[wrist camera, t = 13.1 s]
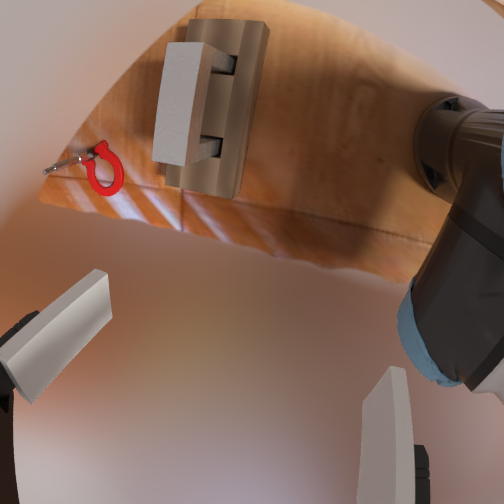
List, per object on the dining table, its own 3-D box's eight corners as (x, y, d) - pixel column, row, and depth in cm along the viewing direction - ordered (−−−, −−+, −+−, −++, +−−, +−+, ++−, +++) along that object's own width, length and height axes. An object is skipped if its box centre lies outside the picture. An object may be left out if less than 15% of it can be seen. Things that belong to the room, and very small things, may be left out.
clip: (241, 62, 34) (203, 42, 23) (226, 151, 40) (184, 166, 29) (214, 60, 35) (168, 42, 23) (200, 146, 41) (151, 160, 29)
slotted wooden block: (269, 30, 31) (263, 21, 28) (239, 192, 42) (231, 199, 39) (201, 26, 33) (189, 19, 29) (177, 178, 44) (165, 184, 40)
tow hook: (133, 181, 47) (109, 136, 43) (82, 209, 36) (54, 153, 32) (104, 201, 50) (82, 159, 47) (56, 230, 39) (31, 181, 36)
